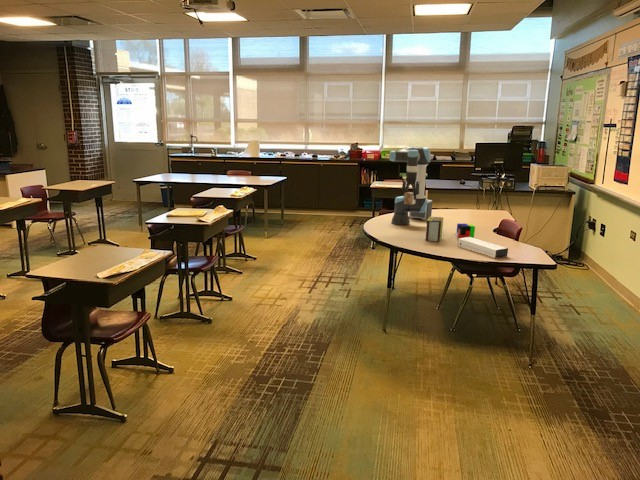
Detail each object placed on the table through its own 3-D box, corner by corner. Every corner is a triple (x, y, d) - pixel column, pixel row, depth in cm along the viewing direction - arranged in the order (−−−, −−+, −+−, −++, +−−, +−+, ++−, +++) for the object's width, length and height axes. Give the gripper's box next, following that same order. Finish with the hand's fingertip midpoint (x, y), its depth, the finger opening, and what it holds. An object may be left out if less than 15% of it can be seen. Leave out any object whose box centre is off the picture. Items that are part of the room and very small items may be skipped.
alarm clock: (432, 218, 446) (434, 198, 442) (427, 221, 435) (428, 200, 431) (413, 216, 456) (414, 196, 451) (407, 218, 445) (409, 198, 440)
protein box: (441, 237, 378) (443, 217, 374) (439, 242, 364) (441, 221, 360) (427, 236, 381) (429, 216, 378) (425, 240, 367) (426, 220, 363)
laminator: (507, 257, 331) (508, 248, 329) (494, 259, 325) (495, 250, 323) (469, 245, 359) (470, 236, 358) (456, 246, 353) (457, 238, 352)
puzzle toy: (456, 236, 384) (457, 223, 381) (468, 236, 384) (470, 223, 382) (460, 239, 374) (462, 226, 371) (473, 239, 375) (475, 226, 372)
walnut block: (403, 203, 365) (404, 192, 363) (408, 202, 369) (409, 191, 367) (410, 204, 361) (411, 193, 359) (415, 203, 365) (416, 192, 363)
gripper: (397, 170, 362) (395, 202, 368) (420, 173, 350) (417, 205, 356) (403, 170, 368) (401, 200, 374) (425, 172, 355) (423, 204, 361)
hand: (409, 203), depth 365 cm, fingers closed on walnut block, 6 cm apart
